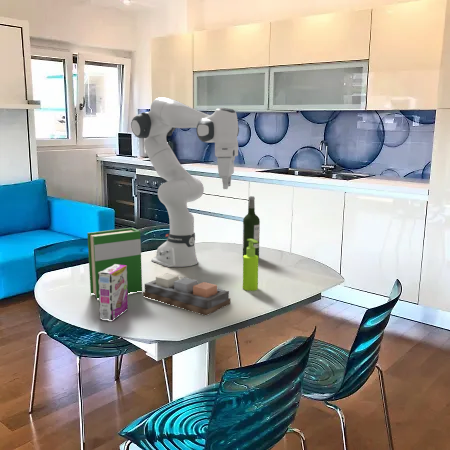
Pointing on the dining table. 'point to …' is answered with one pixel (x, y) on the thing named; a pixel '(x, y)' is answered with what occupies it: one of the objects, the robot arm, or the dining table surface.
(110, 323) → the dining table surface
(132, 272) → the hardback book
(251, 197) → the wine bottle
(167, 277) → the cream key
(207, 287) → the terracotta key
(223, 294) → the compartment tray
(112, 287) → the candy bar box
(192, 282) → the grey key
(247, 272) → the soap dispenser
